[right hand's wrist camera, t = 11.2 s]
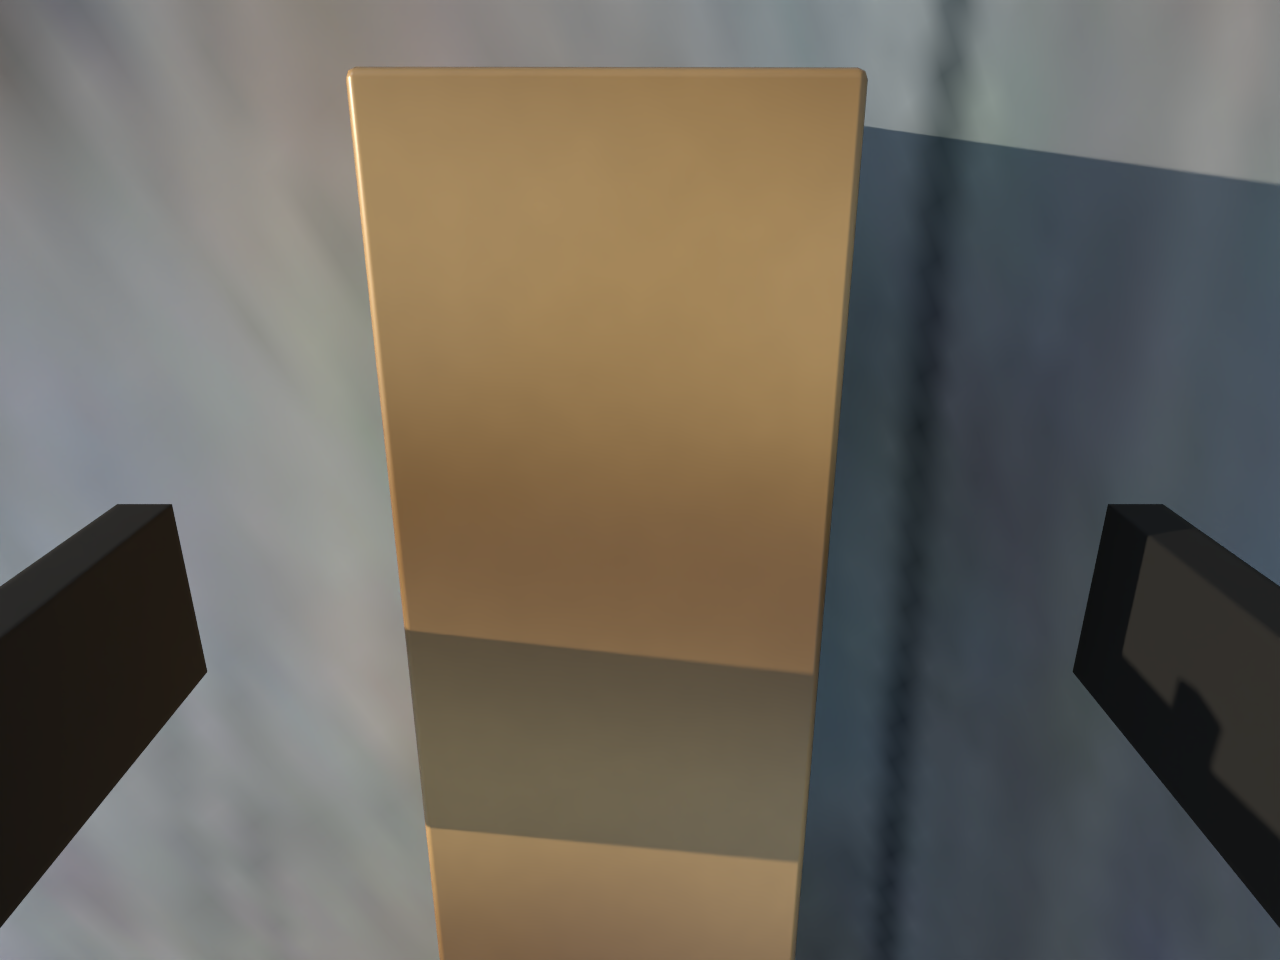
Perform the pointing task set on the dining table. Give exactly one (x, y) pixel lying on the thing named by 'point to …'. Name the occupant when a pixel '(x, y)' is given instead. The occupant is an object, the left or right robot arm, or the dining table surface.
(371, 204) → the board
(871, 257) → the dining table surface
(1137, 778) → the dining table surface
